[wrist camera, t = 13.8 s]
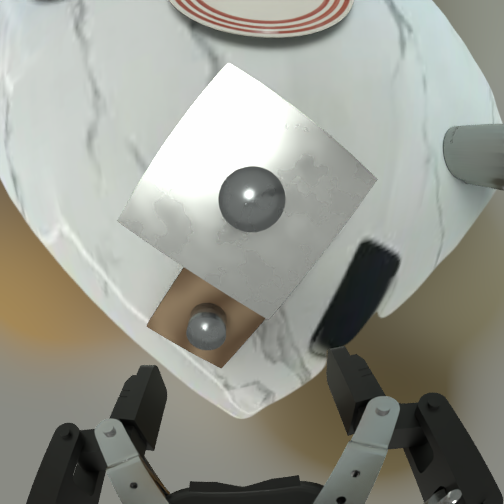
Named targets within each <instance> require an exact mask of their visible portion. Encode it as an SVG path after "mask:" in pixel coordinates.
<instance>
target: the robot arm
mask: <svg viewBox="0 0 504 504" xmlns="http://www.w3.org/2000/svg"><path fill="white" fill-rule="evenodd" d="M443 149H444V157H445V161H446V164H447V166H448V168H449V170H450V172H451V173H452V174H453V175H454V176H455V177H456V178H458V179H462V180H464V181H465V183H466V184H472V185H478V186H483V187H489V188H494V189H499V190H504V124H483V125H465V126H454V127H452V128H450V129H449V130H448V132H447V133H446V135H445V139H444V147H443ZM327 381H328V385H329V388H330V390H331V393H332V395H333V398H334V401H335V403H336V406H337V408H338V411H339V414H340V416H341V419H342V421H343V424H344V427H345V430H346V432H347V435H348V436H349V435H352V434H354V436H353V438H352V440H351V441H349V443H348V444H347V446H346V448H345V450H344V452H343V454H342V456H341V458H340V459H339V461H338V463H337V465H336V467H335V468H334V470H333V472H332V474H331V475H330V477H329V479H328V481H327V482H326V484H325V485H324V486H323V485H320V484H317V483H313V482H307V481H300V480H299V475H297V476H291V477H283V478H276V479H270V480H267V481H263V482H260V483H257V484H253V485H249V486H245V487H240V486H234V485H228V484H223V483H218V482H192V481H191V482H190V487H189V488H185V489H181V490H179V491H176V492H174V493H172V494H170V492H169V491H168V490H167V489H166V487H164V485H163V483H162V482H161V481H160V479H159V478H158V476H157V475H156V473H155V472H154V470H153V468H152V467H151V465H150V464H149V462H148V461H147V459H146V458H145V456H144V455H145V451H146V450H151V451H154V449H155V445H156V441H157V437H158V432H159V428H160V424H161V420H162V416H163V412H164V408H165V404H166V401H167V390H166V387H165V384H164V382H163V379H162V377H161V374H160V371H159V369H158V367H157V366H156V365H142V366H140V368H139V370H138V373H137V375H132V376H131V377H130V378H129V379H128V380H127V381H126V382H125V384H124V386H123V389H122V391H121V393H120V397H119V398H118V400H117V402H116V404H115V407H114V409H113V412H112V414H111V416H110V418H109V419H106V420H103V421H101V422H100V423H99V424H98V425H97V426H96V428H95V429H91V430H79V428H78V427H77V426H76V425H75V424H73V423H64V424H62V425H60V426H59V427H58V428H57V429H56V431H55V433H54V435H53V437H52V439H51V441H50V443H49V446H48V448H47V451H46V453H45V455H44V457H43V460H42V462H41V465H40V467H39V470H38V472H37V475H36V477H35V480H34V483H33V485H32V488H31V491H30V494H29V497H28V500H27V503H26V504H98V502H99V498H100V493H101V489H102V485H103V481H104V476H105V472H107V474H108V476H109V478H110V480H111V482H112V484H113V487H114V489H115V491H116V492H117V494H118V496H119V498H120V500H121V502H122V504H365V502H366V500H367V498H368V496H369V494H370V491H371V489H372V487H373V485H374V483H375V481H376V478H377V476H378V474H379V471H380V469H381V466H382V464H383V461H384V459H385V456H386V454H387V450H388V449H397V448H403V449H404V452H405V454H406V457H407V459H408V461H409V464H410V466H411V469H412V471H413V474H414V476H415V479H416V481H417V484H418V487H419V489H420V492H421V495H422V497H423V500H424V504H503V497H502V494H501V492H500V490H499V488H498V486H497V484H496V482H495V480H494V478H493V476H492V474H491V472H490V471H489V469H488V467H487V465H486V464H485V461H484V460H483V458H482V456H481V454H480V453H479V451H478V449H477V447H476V446H475V444H474V442H473V441H472V439H471V437H470V435H469V434H468V432H467V431H466V429H465V428H464V426H463V424H462V423H461V421H460V419H459V418H458V416H457V415H456V413H455V411H454V410H453V408H452V407H451V405H450V404H449V402H448V401H447V399H446V398H445V397H444V396H443V395H441V394H438V393H427V394H425V395H423V396H422V397H421V398H420V400H419V402H418V403H408V404H400V403H398V402H397V401H396V400H395V399H393V398H391V397H387V396H386V395H385V394H384V392H383V390H382V388H381V387H380V385H379V384H378V382H377V380H376V378H375V377H374V375H373V374H372V372H371V370H370V369H369V367H368V365H367V363H366V362H365V360H364V359H363V358H361V357H360V356H358V355H357V354H355V355H351V356H350V354H349V353H348V351H347V349H346V347H345V346H342V347H337V348H332V349H329V350H328V359H327ZM76 464H77V466H76ZM75 467H76V469H75ZM74 471H75V472H74ZM73 474H74V475H73Z"/></svg>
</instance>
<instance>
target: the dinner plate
mask: <svg viewBox="0 0 504 504" xmlns="http://www.w3.org/2000/svg"><path fill="white" fill-rule="evenodd" d="M169 1H170V2H171V4H172V5H173V6H174V7H175V8H176V9H177V10H178V11H180V12H181V13H182V14H184V15H185V16H187V17H188V18H190V19H192V20H194V21H196V22H198V23H200V24H202V25H205V26H207V27H210V28H213V29H216V30H220V31H223V32H228V33H232V34H237V35H243V36H251V37H264V38H284V37H295V36H303V35H308V34H312V33H316V32H319V31H322V30H324V29H327V28H329V27H331V26H333V25H335V24H337V23H338V22H339V21H341V20H342V19H343V18H344V17H345V16H346V15H347V14H348V13H349V11H350V9H351V8H352V5H353V2H354V0H169Z"/></svg>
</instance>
